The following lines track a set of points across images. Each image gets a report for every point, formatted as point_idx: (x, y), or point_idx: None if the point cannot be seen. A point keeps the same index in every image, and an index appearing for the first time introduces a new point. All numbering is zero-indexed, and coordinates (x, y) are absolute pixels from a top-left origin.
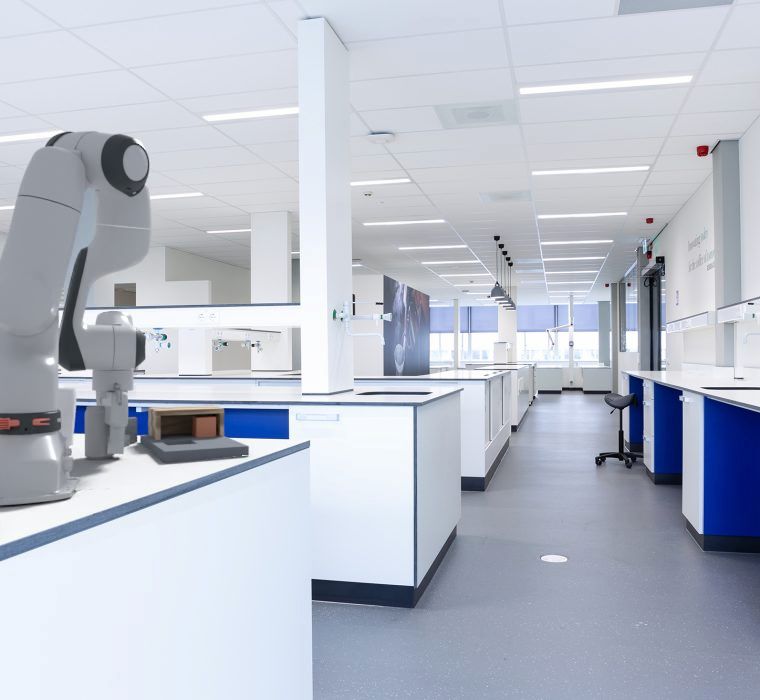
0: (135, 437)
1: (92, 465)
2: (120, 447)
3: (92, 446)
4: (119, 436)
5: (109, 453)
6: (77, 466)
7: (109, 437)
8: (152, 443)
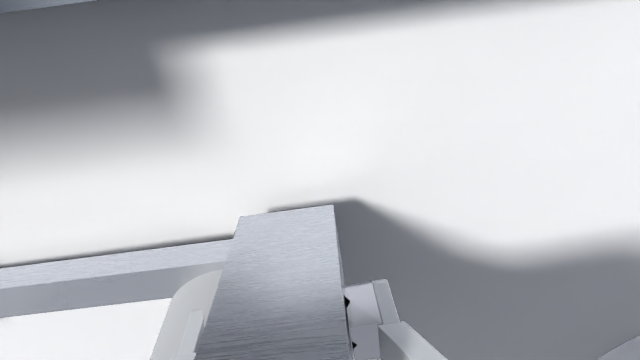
0: None
1: (457, 282)
2: (338, 246)
3: None
4: (345, 316)
5: (342, 266)
6: (449, 316)
7: (366, 354)
8: (55, 5)
